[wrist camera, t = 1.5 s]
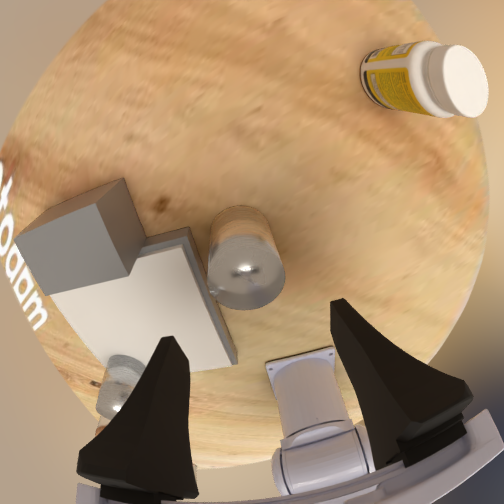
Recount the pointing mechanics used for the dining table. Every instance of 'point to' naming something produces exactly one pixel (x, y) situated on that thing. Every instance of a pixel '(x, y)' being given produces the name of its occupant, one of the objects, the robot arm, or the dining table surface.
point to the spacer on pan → (118, 384)
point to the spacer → (243, 260)
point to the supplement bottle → (426, 79)
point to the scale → (125, 280)
